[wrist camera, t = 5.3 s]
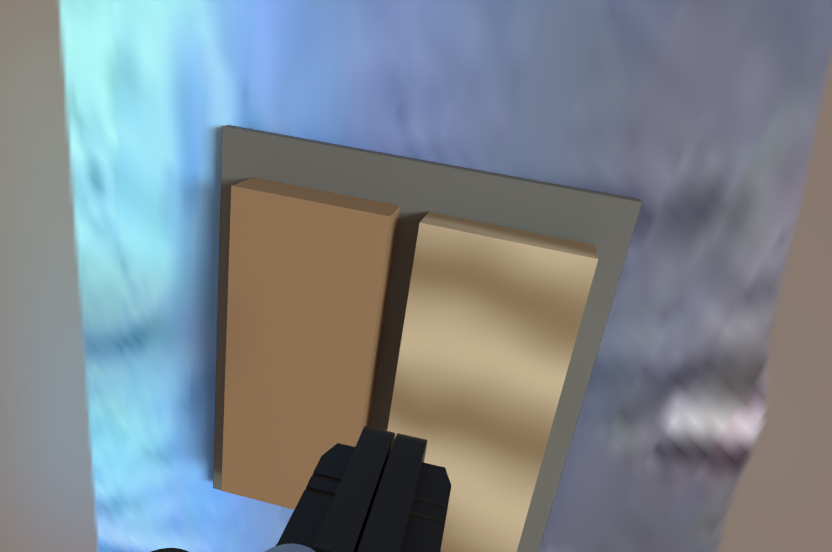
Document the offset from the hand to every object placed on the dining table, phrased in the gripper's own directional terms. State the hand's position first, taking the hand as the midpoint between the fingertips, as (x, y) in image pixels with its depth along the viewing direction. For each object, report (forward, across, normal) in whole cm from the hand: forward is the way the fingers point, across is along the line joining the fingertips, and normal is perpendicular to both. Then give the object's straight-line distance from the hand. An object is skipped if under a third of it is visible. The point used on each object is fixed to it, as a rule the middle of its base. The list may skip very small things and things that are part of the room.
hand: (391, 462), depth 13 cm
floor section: (+14, +2, +6) cm, 15 cm away
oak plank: (+13, -2, +6) cm, 14 cm away
